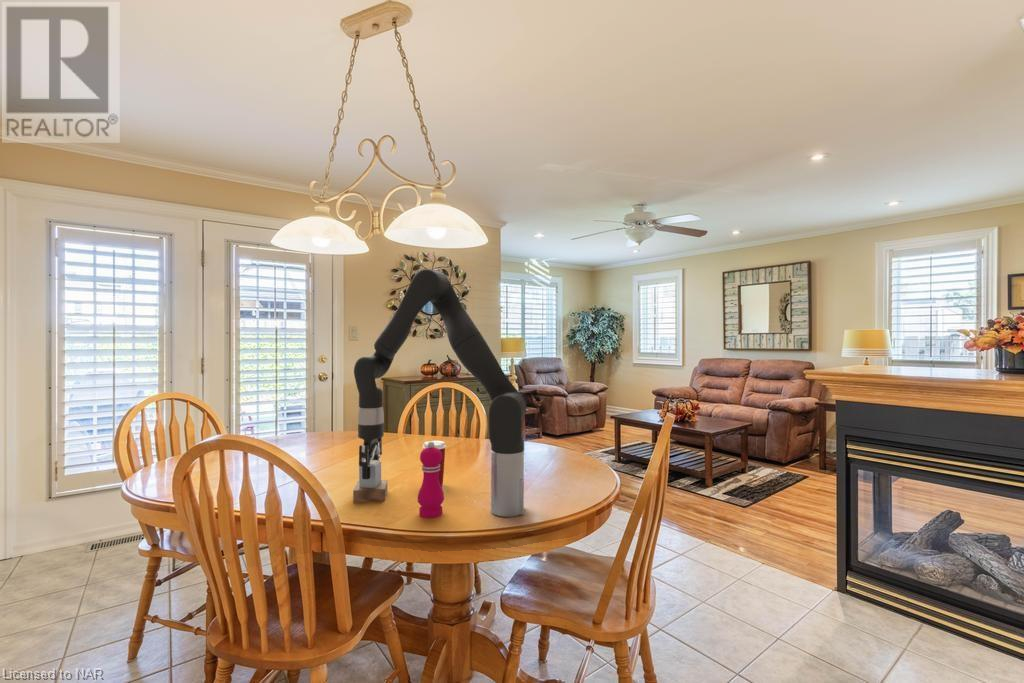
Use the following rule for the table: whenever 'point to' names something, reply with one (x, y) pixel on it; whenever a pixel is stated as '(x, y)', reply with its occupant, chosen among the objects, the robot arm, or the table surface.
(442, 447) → the paper cup
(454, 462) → the table surface
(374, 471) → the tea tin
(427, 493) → the pepper mill
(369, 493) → the walnut block
